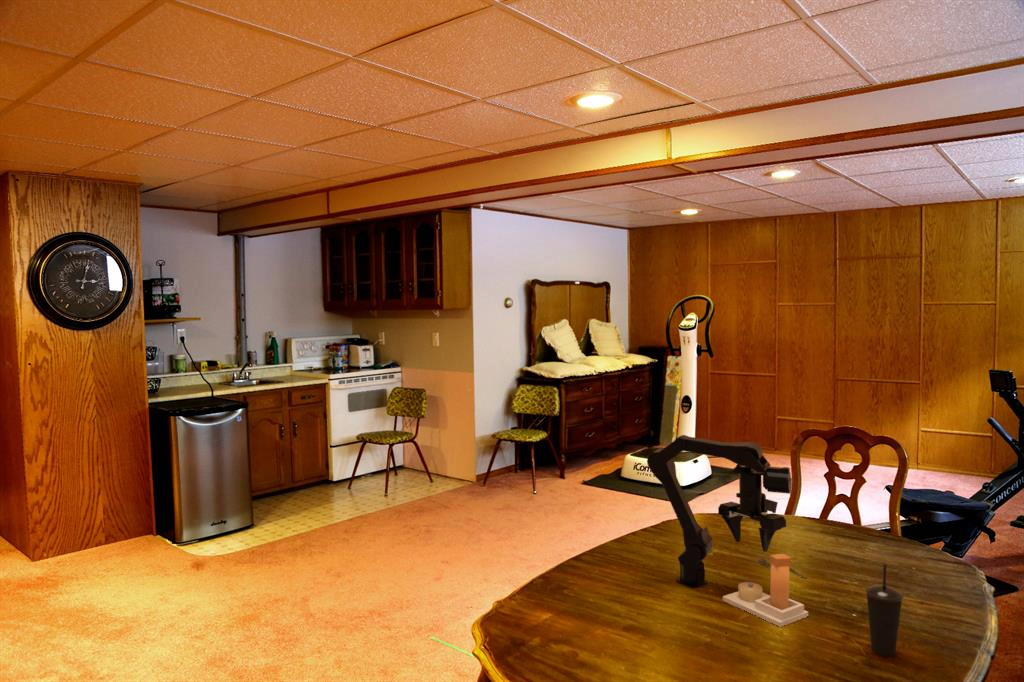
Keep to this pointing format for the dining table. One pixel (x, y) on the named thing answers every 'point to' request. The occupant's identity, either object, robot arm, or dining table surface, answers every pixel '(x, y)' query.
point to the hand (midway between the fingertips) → (751, 546)
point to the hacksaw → (789, 569)
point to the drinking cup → (883, 616)
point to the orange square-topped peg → (779, 581)
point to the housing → (764, 605)
